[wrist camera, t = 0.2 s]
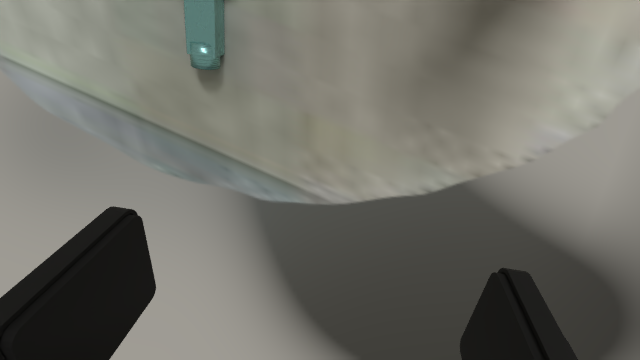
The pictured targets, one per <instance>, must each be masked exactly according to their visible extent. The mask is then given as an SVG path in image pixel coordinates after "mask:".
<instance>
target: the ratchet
mask: <svg viewBox="0 0 640 360" xmlns="http://www.w3.org/2000/svg"><path fill="white" fill-rule="evenodd" d="M184 11H185V27H186V44H187V54H190V61H191V66H192V67H194V68H198V69H205V70H214V69H219V68H220V56H221V55H224V0H184Z"/></svg>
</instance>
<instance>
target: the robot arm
mask: <svg viewBox="0 0 640 360" xmlns="http://www.w3.org/2000/svg"><path fill="white" fill-rule="evenodd" d="M155 290H156V284H155V279H154V274H153V269H152V264H151V260H150V255H149V250H148V245H147V240H146V235H145V231H144V226H143V221H142V218H141V217H140V216H138V215H137V213H136V211H134V210H132V209H126V208H120V207H109V208H108V209H106V210H105V211H104V212H103V213H102V214H100V215H99V216H98V217H97V218H95V219H94V220H93V221H92V222H91V223H90V224H88V225H87V226H86V227H85V228H84V229H82V230H81V231H80V232H79V233H78V234H76V235H75V236H74V237H73V238H72V239H70V240H69V241H68V242H67V243H66V244H64V245H63V246H62V247H61V248H60V249H58V250H57V251H56V252H55V253H54V254H52V255H51V256H50V257H49V258H48V259H46V260H45V261H44V262H43V263H42V264H40V265H39V266H38V267H37V268H36V269H34V270H33V271H32V272H31V273H30V274H29V275H27V276H26V277H25V278H24V279H23V280H21V281H20V282H19V283H18V284H17V285H15V286H14V287H13V288H12V289H11V290H10V291H8V292H7V293H6V294H5V295H3V296H2V297H1V298H0V360H109V359H110V358H111V356H112V355H113V354H114V352H115V351H116V349H117V348H118V346H119V345H120V344H121V342H122V341H123V339H124V338H125V337H126V335H127V334H128V332H129V331H130V329H131V328H132V327H133V325H134V324H135V322H136V321H137V320H138V318H139V317H140V315H141V314H142V312H143V311H144V310H145V308H146V307H147V305H148V304H149V303H150V301H151V300H152V298H153V296H154V294H155ZM460 352H461V357H462V360H578V359H577V357H576V355H575V354H574V352H573V350H572V348H571V347H570V344H569V343H568V341H567V340H566V338H565V337H564V336H563V334H562V332H561V330H560V328H559V327H558V325H557V323H556V321H555V319H554V317H553V316H552V314H551V312H550V310H549V309H548V307H547V305H546V303H545V301H544V299H543V297H542V296H541V294H540V292H539V290H538V288H537V286H536V285H535V283H534V281H533V279H532V277H531V276H530V274H529V273H527V272H525V271H519V270H512V269H507V268H501V269H500V270H499V271H498V273H492V274H491V276H490V278H489V279H488V282H487V284H486V286H485V288H484V290H483V292H482V295H481V297H480V299H479V301H478V303H477V305H476V308H475V310H474V312H473V314H472V316H471V318H470V320H469V323H468V325H467V327H466V329H465V331H464V333H463V336H462V338H461V341H460Z"/></svg>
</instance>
